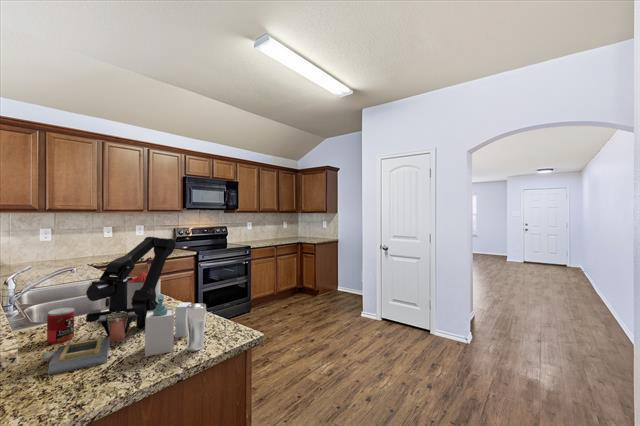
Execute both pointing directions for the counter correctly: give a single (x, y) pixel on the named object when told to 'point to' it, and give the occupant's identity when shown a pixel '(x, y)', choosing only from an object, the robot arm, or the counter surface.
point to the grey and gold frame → (78, 355)
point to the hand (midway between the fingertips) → (117, 334)
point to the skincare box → (181, 320)
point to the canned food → (60, 325)
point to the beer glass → (195, 326)
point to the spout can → (117, 329)
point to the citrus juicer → (139, 287)
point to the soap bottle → (159, 329)
